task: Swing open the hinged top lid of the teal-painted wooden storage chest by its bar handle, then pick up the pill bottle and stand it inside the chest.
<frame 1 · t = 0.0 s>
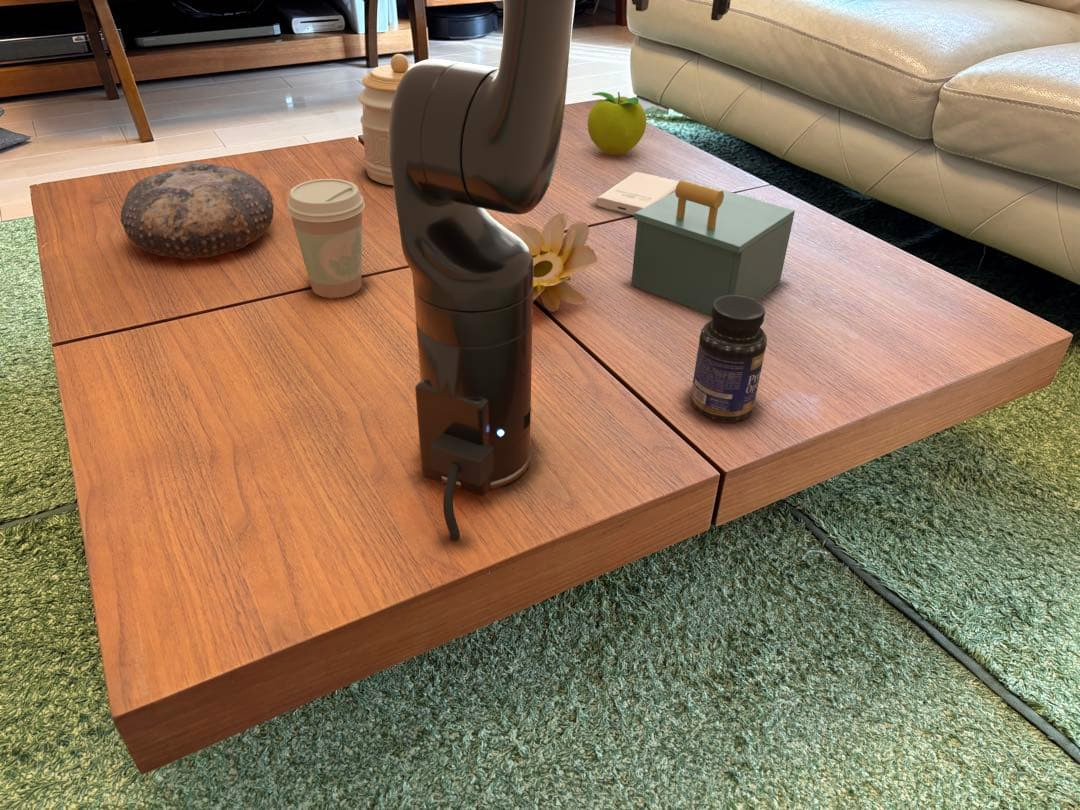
hand: (678, 14, 90), 29 cm above the table, tool pointing down, fingers open, 8 cm apart
lid: (717, 196, 95), point 11 cm above the table, hinge at 0.0°
chest: (705, 284, 102), on the table
pill bottle: (720, 407, 82), on the table
jar: (407, 174, 131), on the table
decorative flower: (530, 293, 100), on the table
coffee cup: (337, 288, 100), on the table
sea urchin shell: (205, 238, 111), on the table
hard drive: (639, 200, 124), on the table
fruit: (614, 154, 141), on the table
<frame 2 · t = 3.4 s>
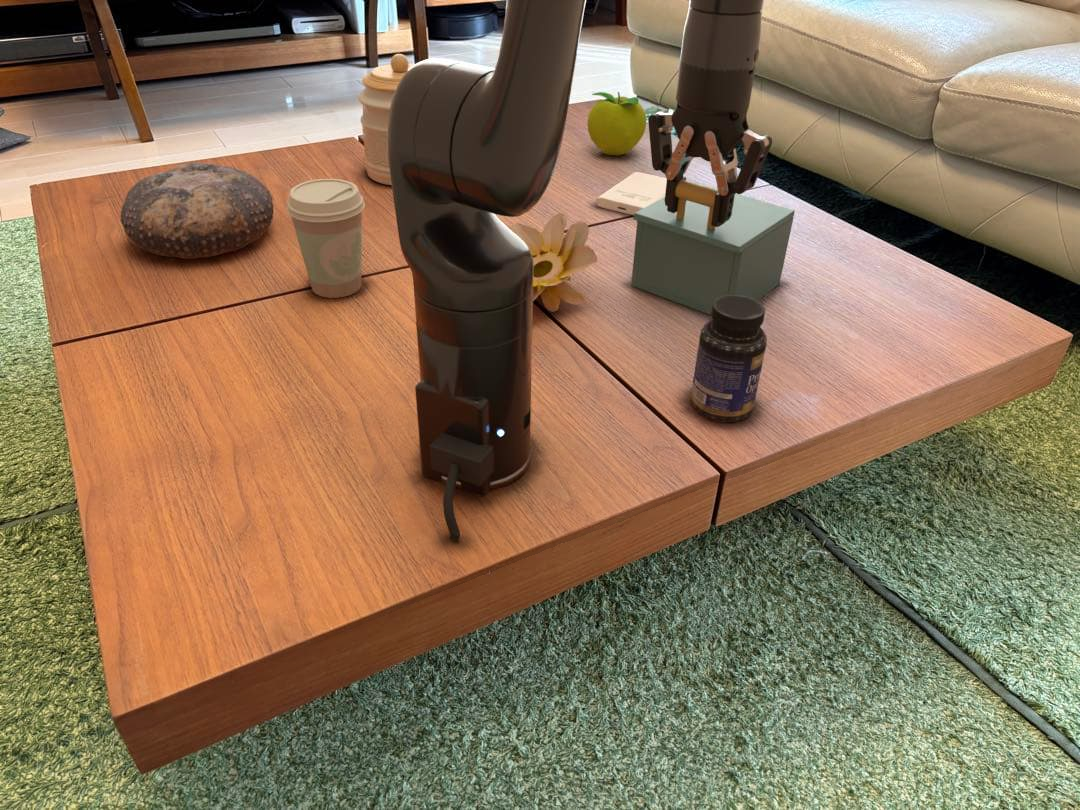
hand: (696, 216, 93), 10 cm above the table, tool pointing down, fingers closed on lid, 5 cm apart
lid: (717, 196, 95), point 11 cm above the table, hinge at 0.0°, touching gripper
everything else where it was.
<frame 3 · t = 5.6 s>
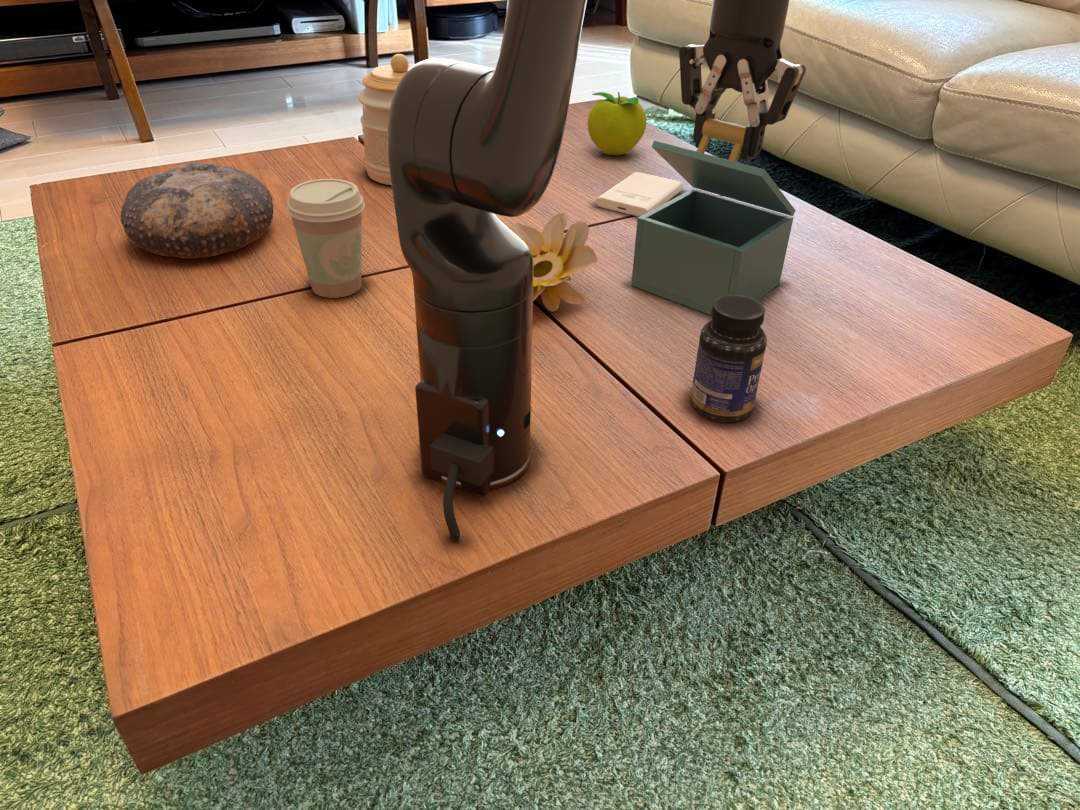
hand: (725, 152, 92), 17 cm above the table, tool pointing down, fingers closed on lid, 5 cm apart
lid: (733, 161, 95), point 15 cm above the table, hinge at 35.6°, touching gripper
everything else where it was.
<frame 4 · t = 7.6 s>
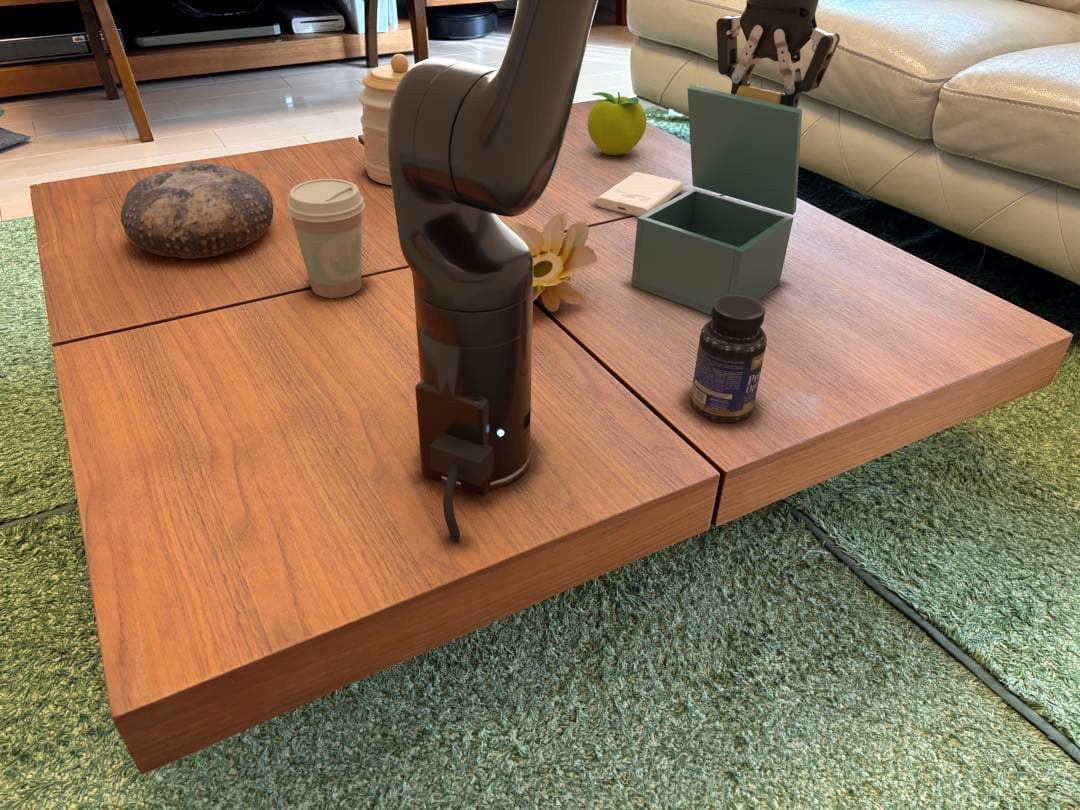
hand: (760, 120, 96), 18 cm above the table, tool pointing down, fingers closed on lid, 5 cm apart
lid: (752, 140, 97), point 16 cm above the table, hinge at 71.3°, touching gripper
everything else where it was.
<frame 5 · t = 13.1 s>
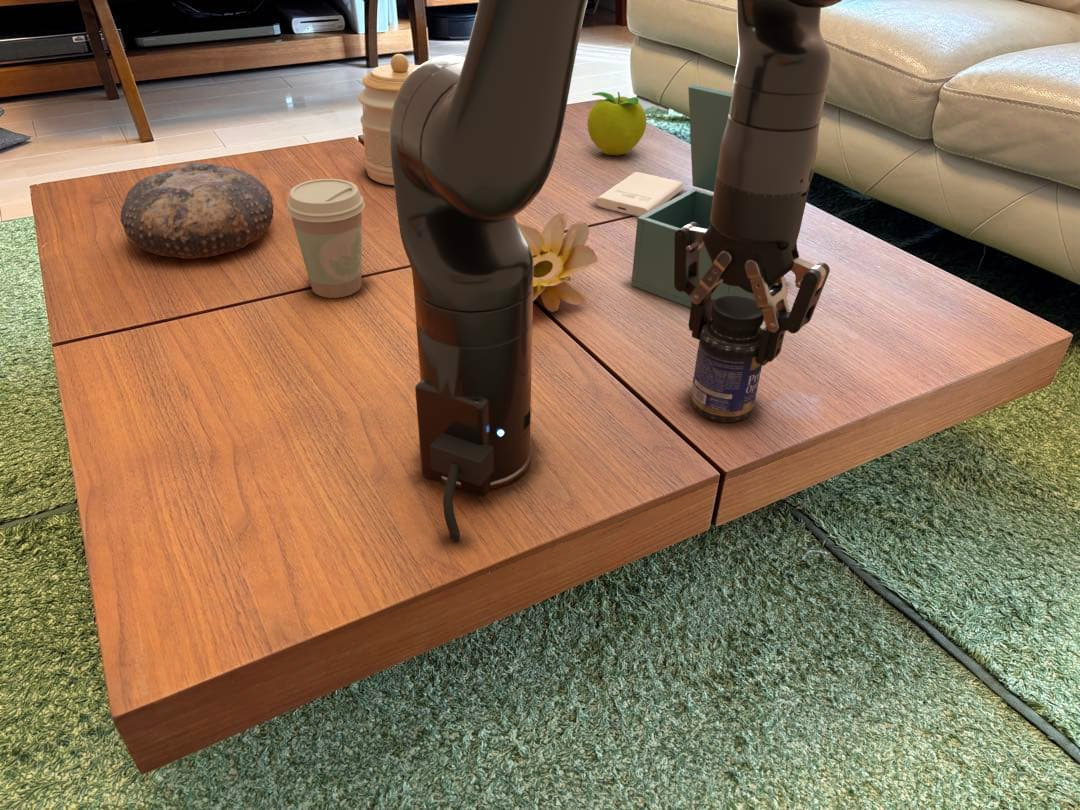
hand: (731, 347, 78), 7 cm above the table, tool pointing down, fingers closed on pill bottle, 6 cm apart
lid: (752, 140, 97), point 16 cm above the table, hinge at 72.2°
pill bottle: (720, 407, 82), on the table, touching gripper
everything else where it was.
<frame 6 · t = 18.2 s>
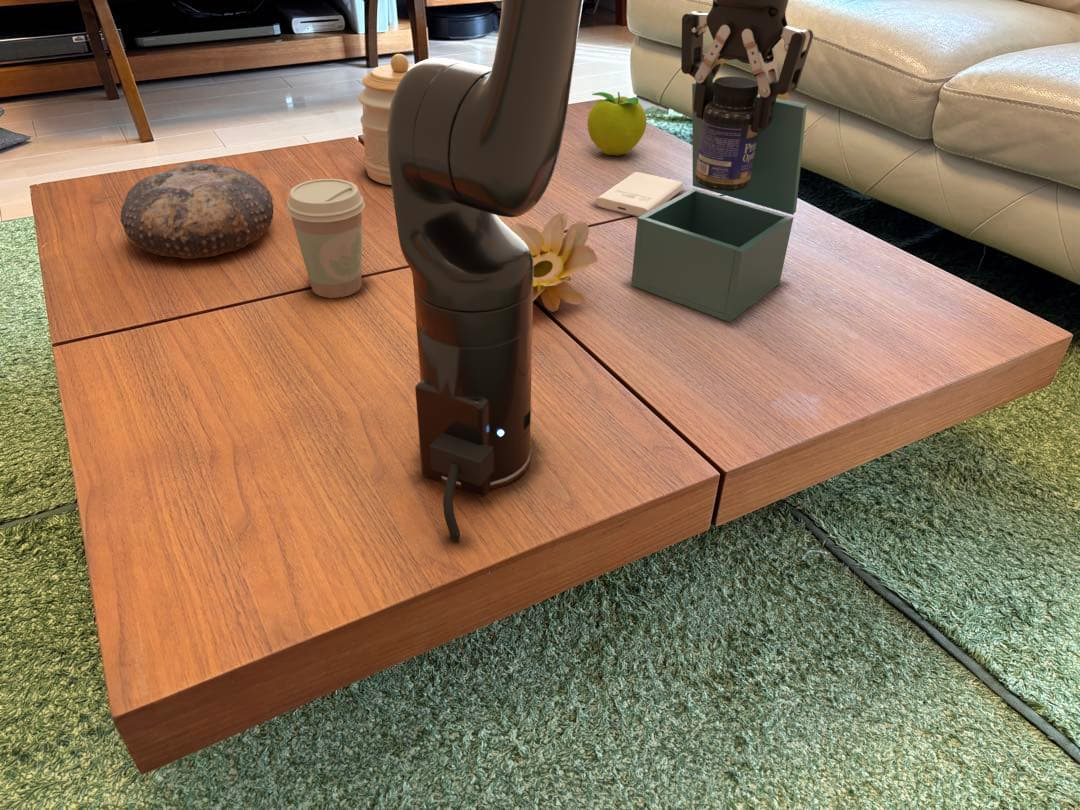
hand: (730, 123, 90), 20 cm above the table, tool pointing down, fingers closed on pill bottle, 6 cm apart
lid: (754, 139, 97), point 16 cm above the table, hinge at 75.8°
pill bottle: (721, 184, 95), point 13 cm above the table, touching gripper
everything else where it was.
when the fingers open (7 cm above the table, at t = 21.6 s): pill bottle stays where it is, resting on chest.
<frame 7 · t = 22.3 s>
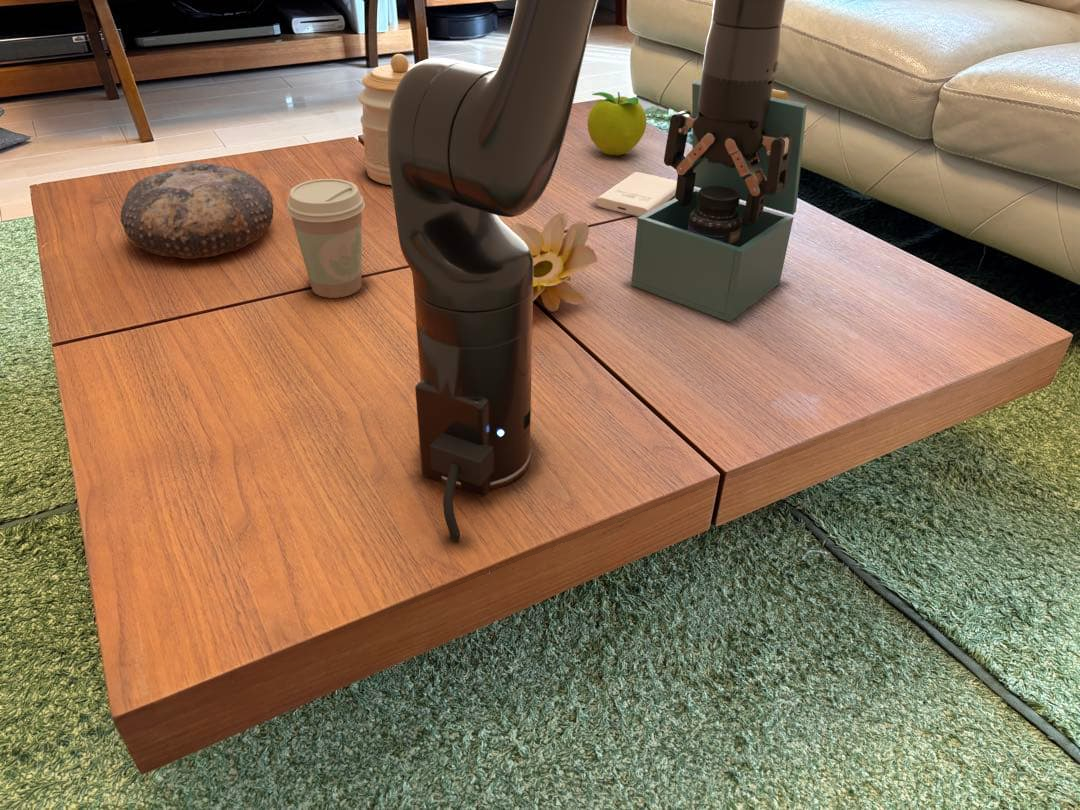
hand: (716, 214, 97), 9 cm above the table, tool pointing down, fingers open, 8 cm apart
pill bottle: (706, 280, 102), point 1 cm above the table, touching chest
everything else where it was.
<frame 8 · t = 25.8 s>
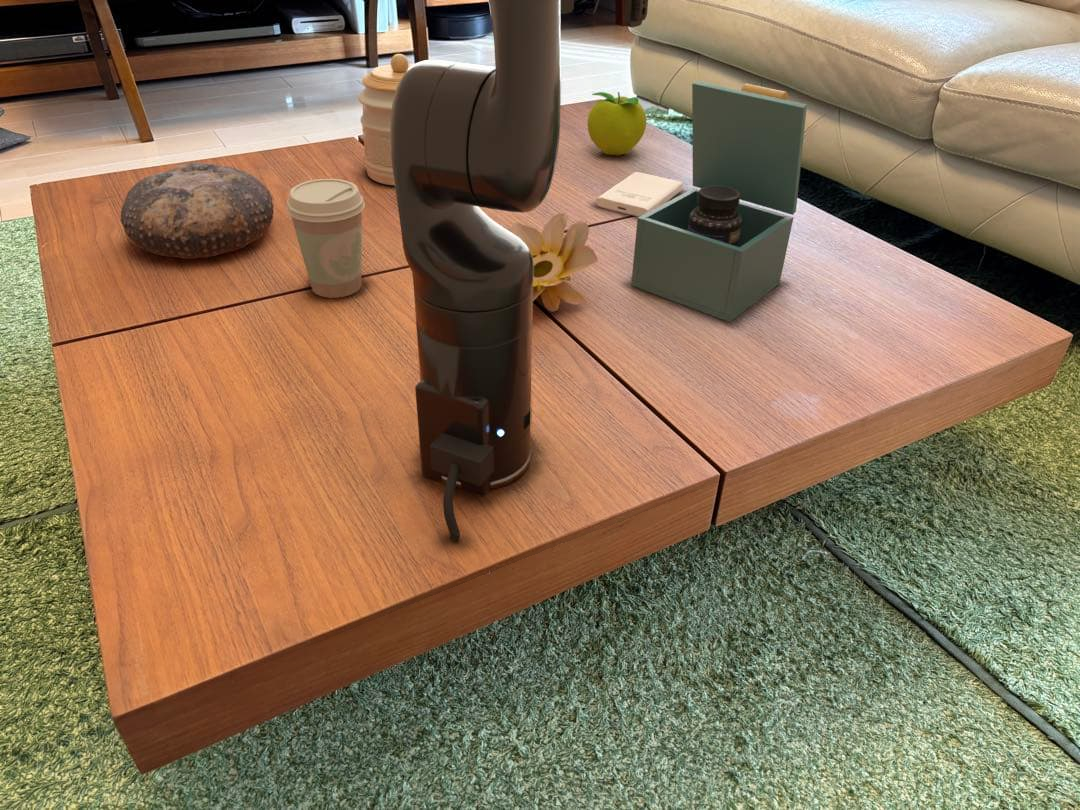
hand: (598, 19, 83), 30 cm above the table, tool pointing down, fingers open, 8 cm apart
nothing on the table moved.
at the end: lid at +76° (first picture: +0°); pill bottle inside the target area in the chest (0.1 cm from its centre), point 0.6 cm above the chest's base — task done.
